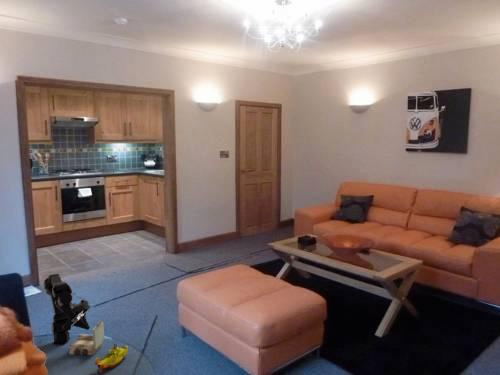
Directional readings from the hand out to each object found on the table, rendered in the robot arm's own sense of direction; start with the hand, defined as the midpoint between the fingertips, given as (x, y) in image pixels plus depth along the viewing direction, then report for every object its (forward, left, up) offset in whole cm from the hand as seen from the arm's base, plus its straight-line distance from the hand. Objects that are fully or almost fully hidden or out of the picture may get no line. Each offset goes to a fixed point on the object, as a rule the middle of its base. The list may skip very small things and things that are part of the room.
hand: (88, 328), depth 198 cm
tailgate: (+5, 0, -8) cm, 9 cm away
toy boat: (+17, -12, -11) cm, 24 cm away
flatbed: (-2, 0, -11) cm, 11 cm away
